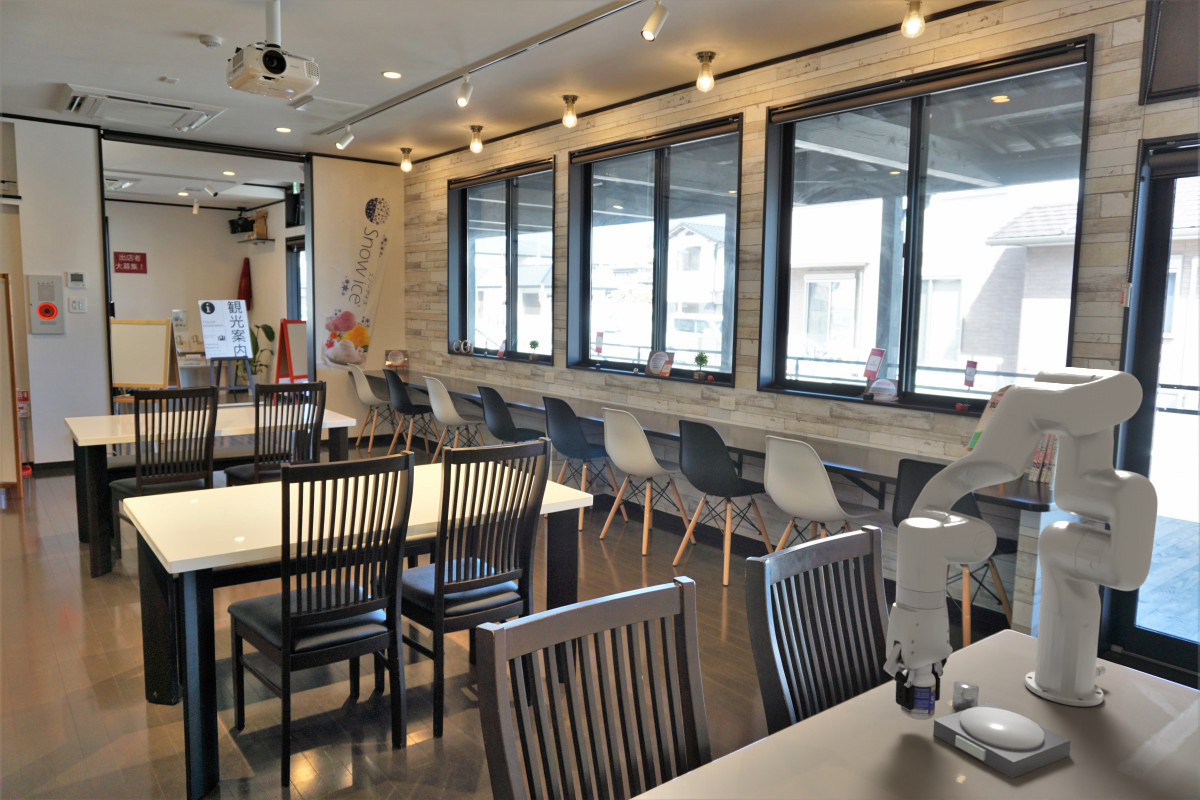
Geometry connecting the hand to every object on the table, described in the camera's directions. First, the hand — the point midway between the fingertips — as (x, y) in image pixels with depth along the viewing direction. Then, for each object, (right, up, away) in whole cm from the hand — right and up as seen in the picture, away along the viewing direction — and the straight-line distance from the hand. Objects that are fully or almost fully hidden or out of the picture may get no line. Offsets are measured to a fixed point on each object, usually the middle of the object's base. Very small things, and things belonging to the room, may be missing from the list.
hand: (917, 700), depth 131 cm
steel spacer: (+12, -5, +9) cm, 16 cm away
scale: (+12, -6, -3) cm, 14 cm away
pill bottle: (0, -2, 0) cm, 2 cm away
